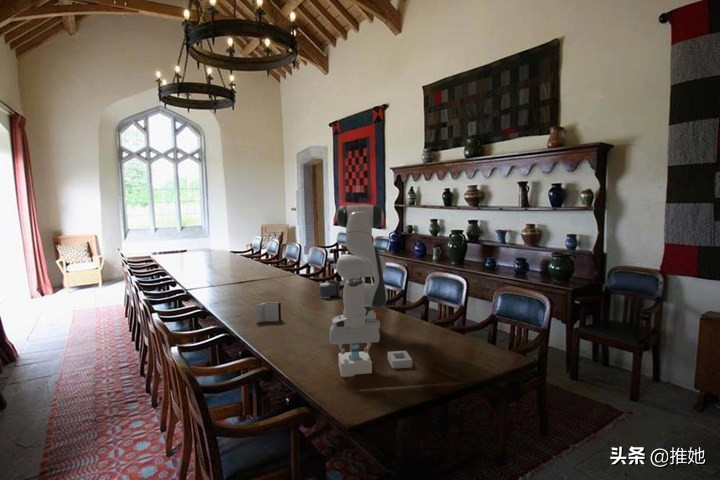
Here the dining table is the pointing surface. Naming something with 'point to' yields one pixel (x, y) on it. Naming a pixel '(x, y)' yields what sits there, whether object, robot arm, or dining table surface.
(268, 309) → the hinge
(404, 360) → the holster
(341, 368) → the port block
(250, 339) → the dining table surface
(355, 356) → the plug
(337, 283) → the dark grey block
